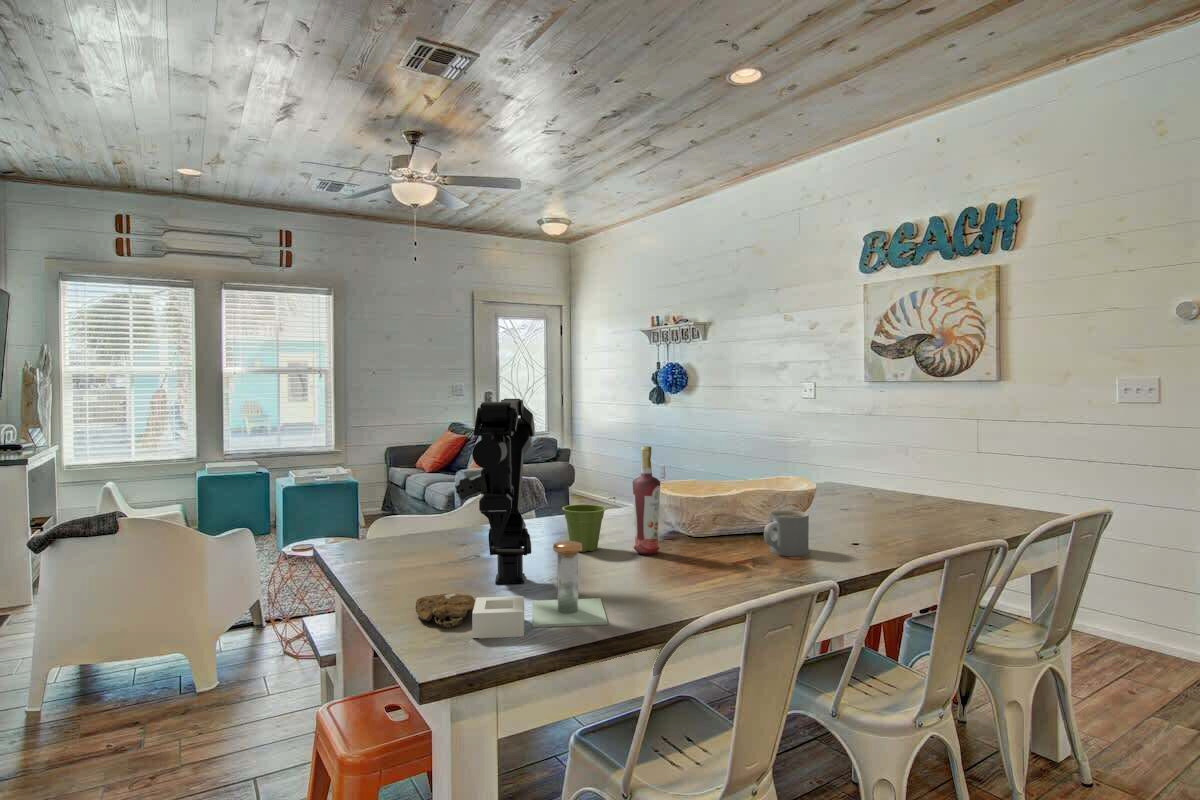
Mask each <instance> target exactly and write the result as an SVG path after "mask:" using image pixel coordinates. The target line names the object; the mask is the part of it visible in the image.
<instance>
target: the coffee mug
mask: <svg viewBox="0 0 1200 800" xmlns="http://www.w3.org/2000/svg"><path fill="white" fill-rule="evenodd" d="M809 523H810V522H809V513H806V512H804V511H799V510H788V509H787V510H785V509H784V510H783V509H782V510H772V511H770V512H769V523H767V524H766V525H765V527H764V530H763V538H764V539H763V540H764V542H765V543H766V544H767V545H768V546H769V552H770V553H772V554H775V555H779V556H783V557H784V556H785V557H801V556H806V555H808V554H809V530H810V529H809V528H810V527H809V526H810V525H809Z"/></svg>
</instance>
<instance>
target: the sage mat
mask: <svg viewBox="0 0 1200 800" xmlns="http://www.w3.org/2000/svg"><path fill="white" fill-rule="evenodd" d="M531 602H532V605H531V606H532V607H531V608H532V609H531V610H532V611H531V614H532V616H531V617H532V618H531V621H532V622H531V623H532V625H531V626H532V628H547V627H549V628H550V627H551V628H552V627H574V626H575V627H577V626H597V625H599V626H601V625H602V626H604V625H609V623H608V622H609V621H608V617H607V614H606V612H605V608H604V606H603V603H602V599H601V598H600V597H599V598H578V611H577V612H576V613H572V614H563V613H559V612H558V599H545V600H544V599H543V600H541V599H540V600H532V601H531Z"/></svg>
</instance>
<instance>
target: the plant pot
mask: <svg viewBox="0 0 1200 800" xmlns="http://www.w3.org/2000/svg"><path fill="white" fill-rule="evenodd" d="M561 509H562V511H564V517H565V519H566V526H567V532H568V539H569V540H568V541H575V542H580V543H582V551H580V553H585V552H587V551H589V552H594V551H596V550H598V546H599V542H600V541H599V540H600V532H601V527H602V521H603V518H604V515H605V512H606V510H607V507H605V506H604V505H598V504H587V503H586V504H585V503H584V504H582V503H581V504H570V505H565V506H562V508H561Z"/></svg>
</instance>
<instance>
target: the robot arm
mask: <svg viewBox="0 0 1200 800" xmlns="http://www.w3.org/2000/svg"><path fill="white" fill-rule="evenodd" d="M474 422H475V423H474V429H473V436H474V437H481V439H480V440H479V441H478V442H476V443H475V445H474V446H473V448H472V451H471V455H472V459H473V462H474V463H475V464H476V465H477V466H478V467H480V468H481V470H480V474H477V475H474V476H471V477H468V476H466V477H464V478H460V479H459V482H457V483H455V485H454V488H455V490H456V491H455V492H456V494H457V496H458V499H459V500H460V501H462V500H464V499H467V497H469V496H473V495H475V494H478V493H480V495H481V497H480V499H479V503H478V507H479V509H478V510H479V511H480V514H482V515H484V516H485V518H487V519H488V523H489V530H488V546H489V547H488V550H489V555H490V556H497V574H496V575H495V581H494V582H495V585H503V584H505V585H507V584H524V583H525V577H526V575H525V574H526V573H524V569H523V568H524V567H523V566H524V564H523V563H524V560H523V558H524V557H523V556H528V555H531V554H532V541H531V535H530V533H529V531H528V528H526V523H525V520H524V518H523V516H522V515H521V512H520V511H521V501H522V500H521V499H522V486H523V473H524V472H523V471H524V460H525V454H526V453H527V452H528V450H529V449H530V448H531V446H532V441H533V437H535V434H536V433H535V432H536V431H535V428H536V427H535V420H534V414H533V413H532V412H531V411H530V409H528V408H527V407H526V406H525V404H524V400H523V399H520V398H504V399H500V401H483V402H481V404H480V406H479V407H477V411H476V415H475V421H474Z"/></svg>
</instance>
